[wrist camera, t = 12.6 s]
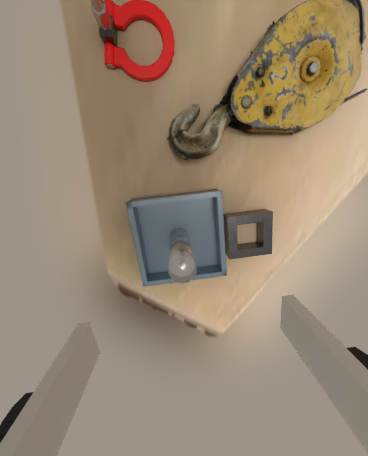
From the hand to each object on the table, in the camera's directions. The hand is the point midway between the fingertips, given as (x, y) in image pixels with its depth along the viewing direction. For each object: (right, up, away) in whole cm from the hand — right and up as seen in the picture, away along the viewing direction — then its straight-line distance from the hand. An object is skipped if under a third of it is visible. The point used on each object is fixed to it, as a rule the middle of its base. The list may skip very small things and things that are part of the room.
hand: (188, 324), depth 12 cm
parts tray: (-1, +5, +20) cm, 21 cm away
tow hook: (-6, +32, +12) cm, 35 cm away
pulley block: (+11, +26, +15) cm, 32 cm away
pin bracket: (+11, +6, +20) cm, 24 cm away
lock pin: (-1, +5, +19) cm, 20 cm away
